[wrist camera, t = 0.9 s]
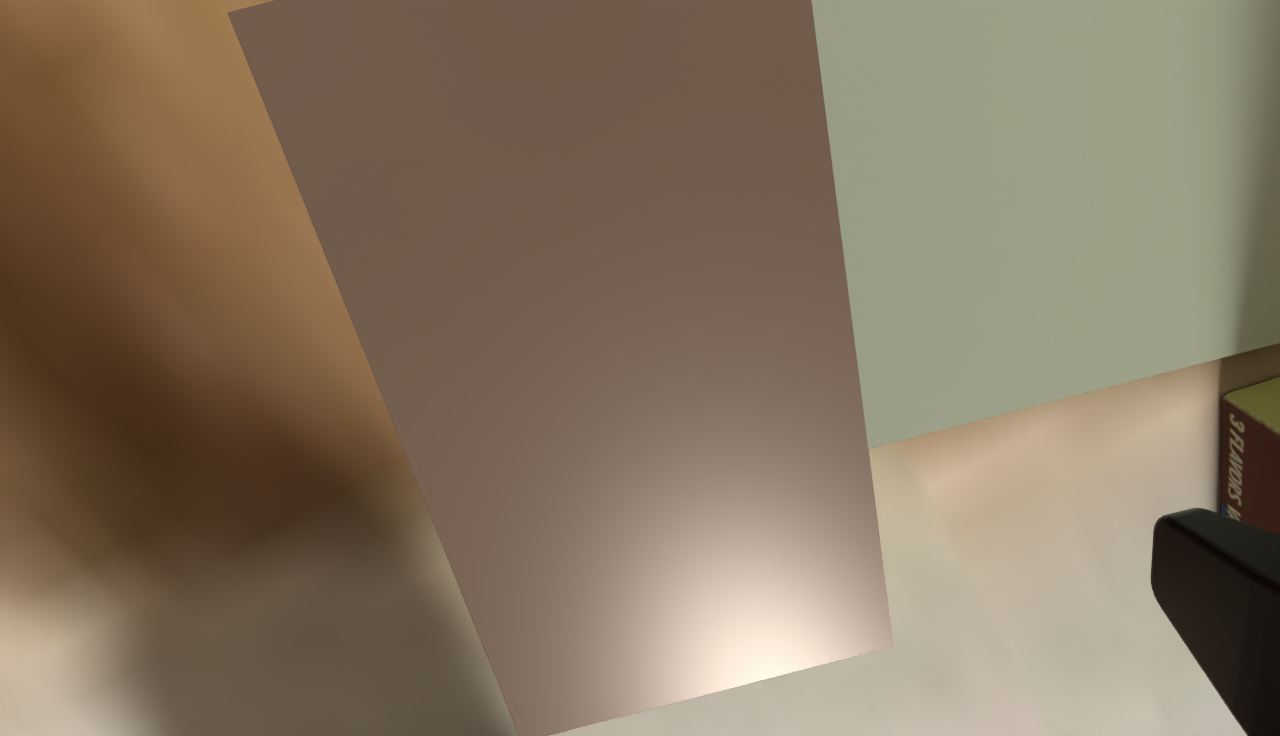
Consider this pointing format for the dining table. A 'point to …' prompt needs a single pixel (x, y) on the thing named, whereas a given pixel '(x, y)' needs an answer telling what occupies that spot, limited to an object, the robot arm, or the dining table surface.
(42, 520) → the dining table surface
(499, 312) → the lid
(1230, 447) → the protein box
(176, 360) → the dining table surface
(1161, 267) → the mat
